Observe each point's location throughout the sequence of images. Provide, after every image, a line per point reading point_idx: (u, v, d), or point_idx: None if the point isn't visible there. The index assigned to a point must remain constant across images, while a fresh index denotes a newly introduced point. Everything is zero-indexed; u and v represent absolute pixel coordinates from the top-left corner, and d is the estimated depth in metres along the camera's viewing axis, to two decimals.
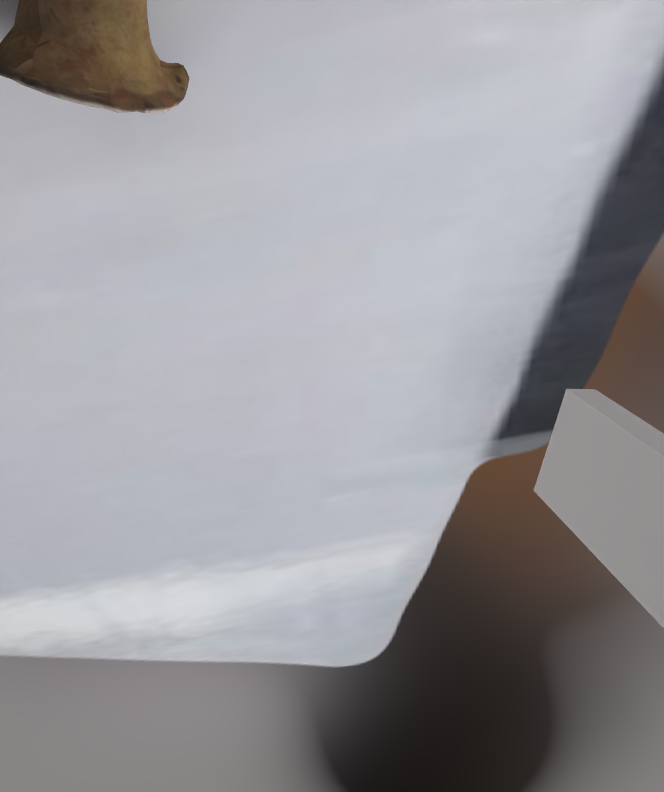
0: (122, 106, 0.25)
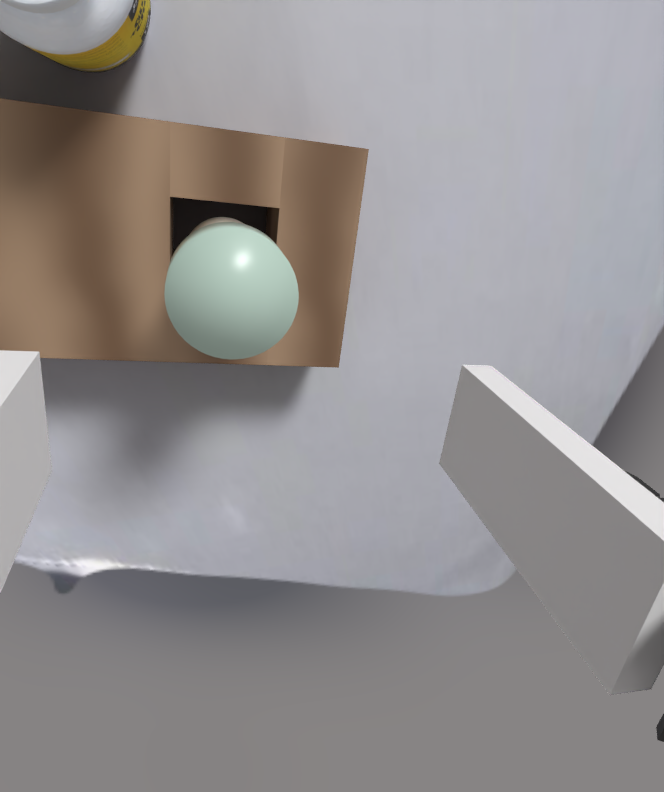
0: None
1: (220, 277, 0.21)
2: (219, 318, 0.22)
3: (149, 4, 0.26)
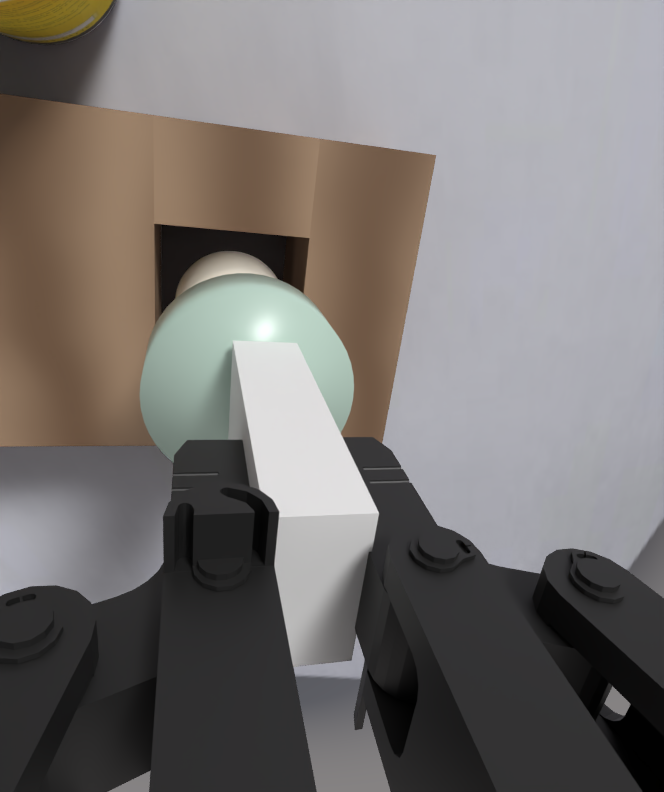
0: None
1: (230, 368, 0.13)
2: None
3: None
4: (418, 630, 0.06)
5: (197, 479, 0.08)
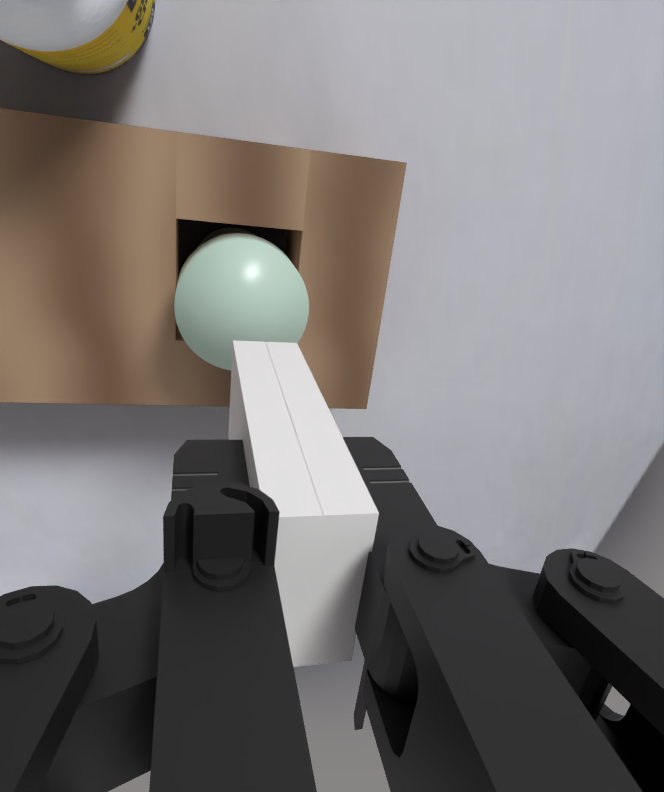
0: None
1: (230, 289, 0.21)
2: (229, 330, 0.22)
3: None
4: (418, 631, 0.06)
5: (197, 479, 0.08)
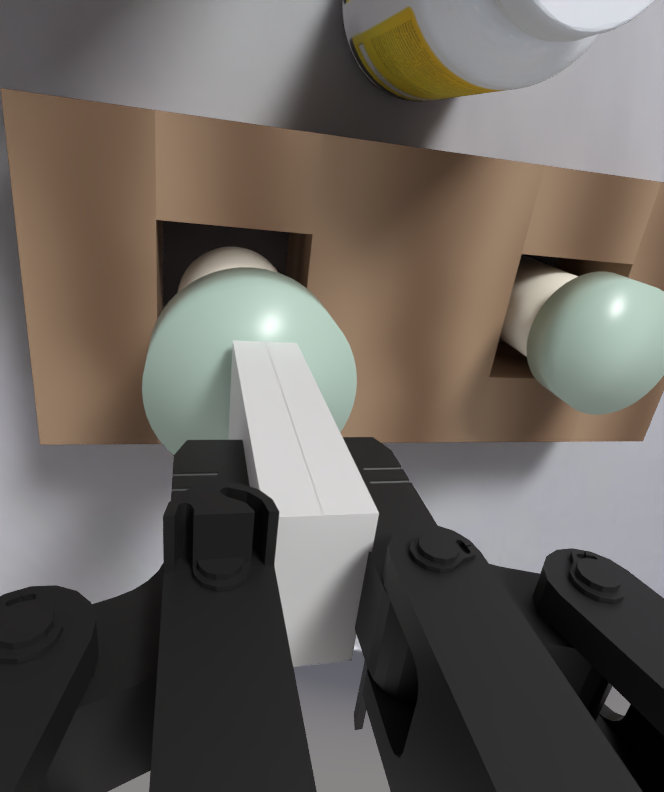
0: None
1: (613, 333, 0.20)
2: (599, 374, 0.21)
3: None
4: (417, 630, 0.06)
5: (197, 479, 0.08)
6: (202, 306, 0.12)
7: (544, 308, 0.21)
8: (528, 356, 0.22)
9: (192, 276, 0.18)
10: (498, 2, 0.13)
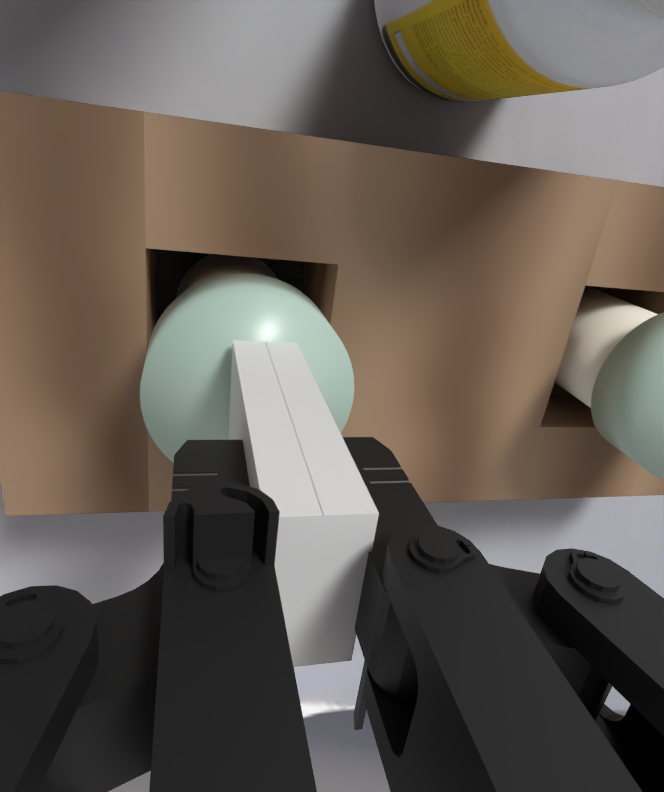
0: None
1: None
2: None
3: None
4: (417, 629, 0.06)
5: (197, 479, 0.08)
6: (199, 312, 0.12)
7: (616, 353, 0.17)
8: (593, 408, 0.18)
9: (191, 281, 0.18)
10: None
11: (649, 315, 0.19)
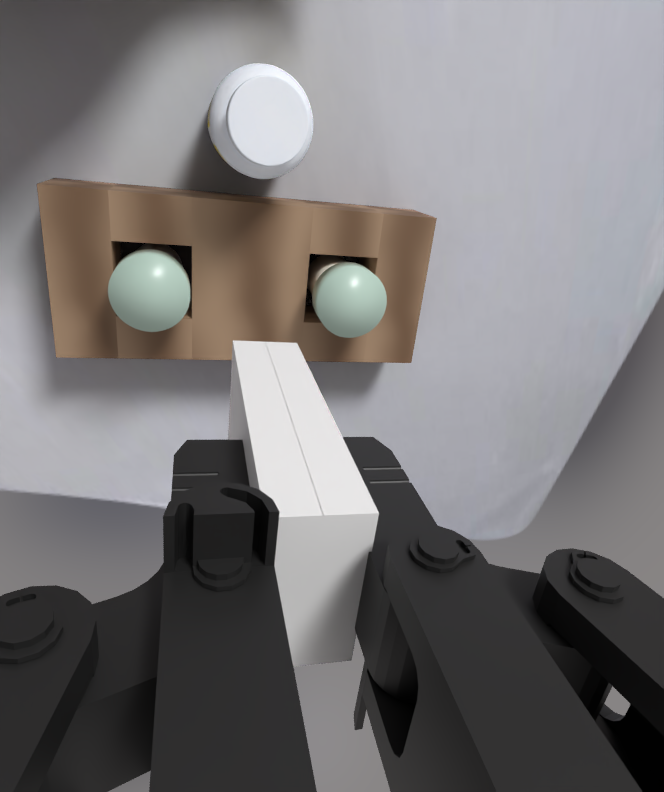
0: None
1: (346, 293, 0.39)
2: (344, 315, 0.40)
3: None
4: (417, 630, 0.06)
5: (197, 479, 0.08)
6: (127, 261, 0.35)
7: (317, 281, 0.40)
8: None
9: None
10: None
11: None
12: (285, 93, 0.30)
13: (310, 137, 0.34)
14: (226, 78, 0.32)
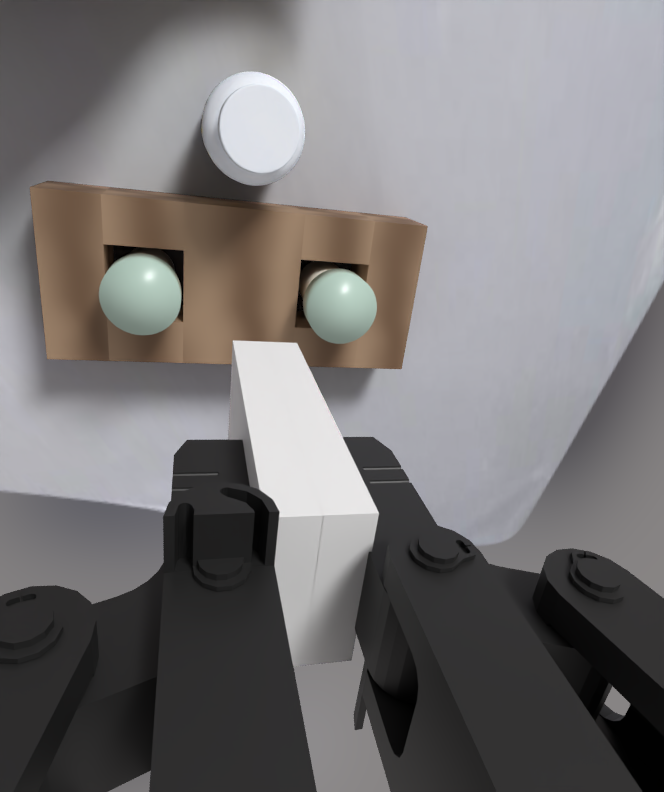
0: None
1: (336, 299, 0.40)
2: (334, 321, 0.40)
3: None
4: (417, 630, 0.06)
5: (197, 479, 0.08)
6: (118, 265, 0.35)
7: (307, 287, 0.41)
8: (304, 313, 0.41)
9: None
10: (231, 159, 0.33)
11: None
12: (276, 102, 0.31)
13: (302, 145, 0.35)
14: (219, 86, 0.33)
